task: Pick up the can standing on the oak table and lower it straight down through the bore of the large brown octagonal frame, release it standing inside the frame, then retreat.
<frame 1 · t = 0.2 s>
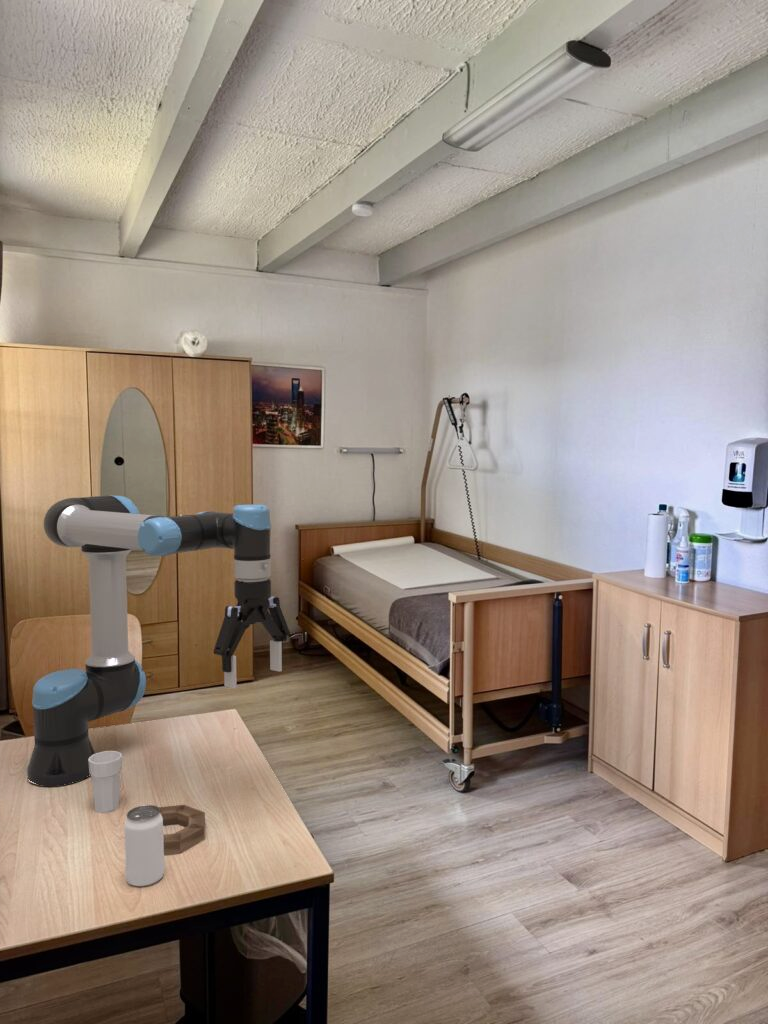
hand: (254, 678, 155), 28 cm above the table, fingers open, 13 cm apart
brown octagonal frame: (166, 835, 145), on the table
cup: (106, 807, 157), on the table
can: (145, 878, 131), on the table
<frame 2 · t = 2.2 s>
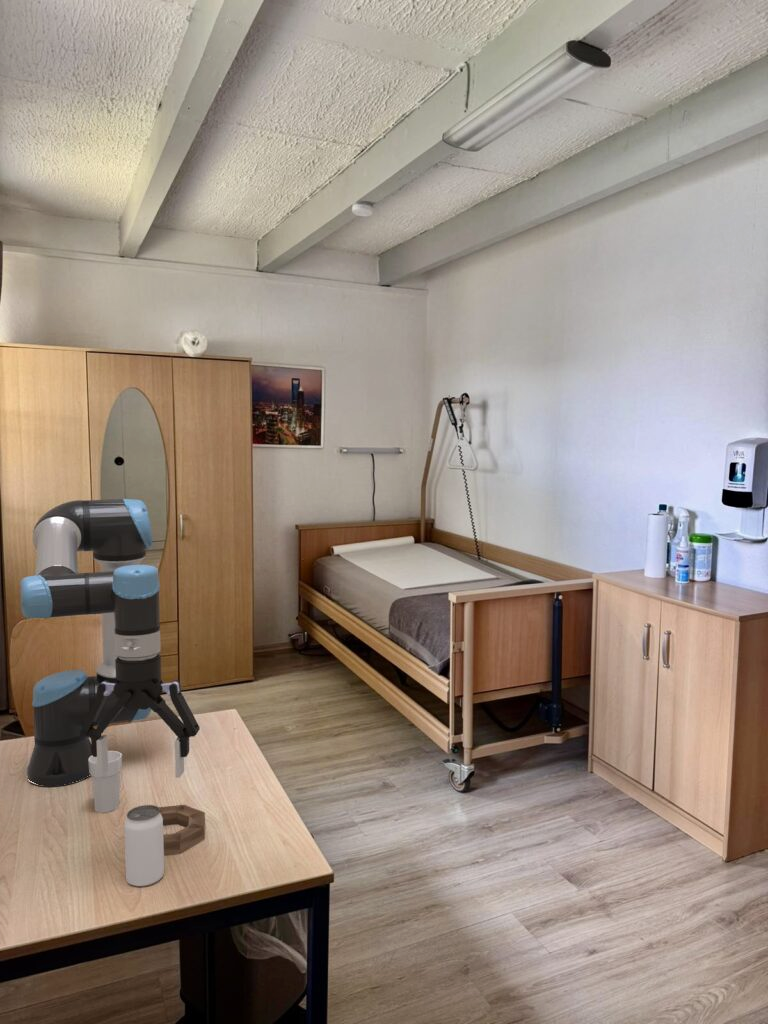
hand: (141, 774, 129), 19 cm above the table, fingers open, 13 cm apart
nothing on the table moved.
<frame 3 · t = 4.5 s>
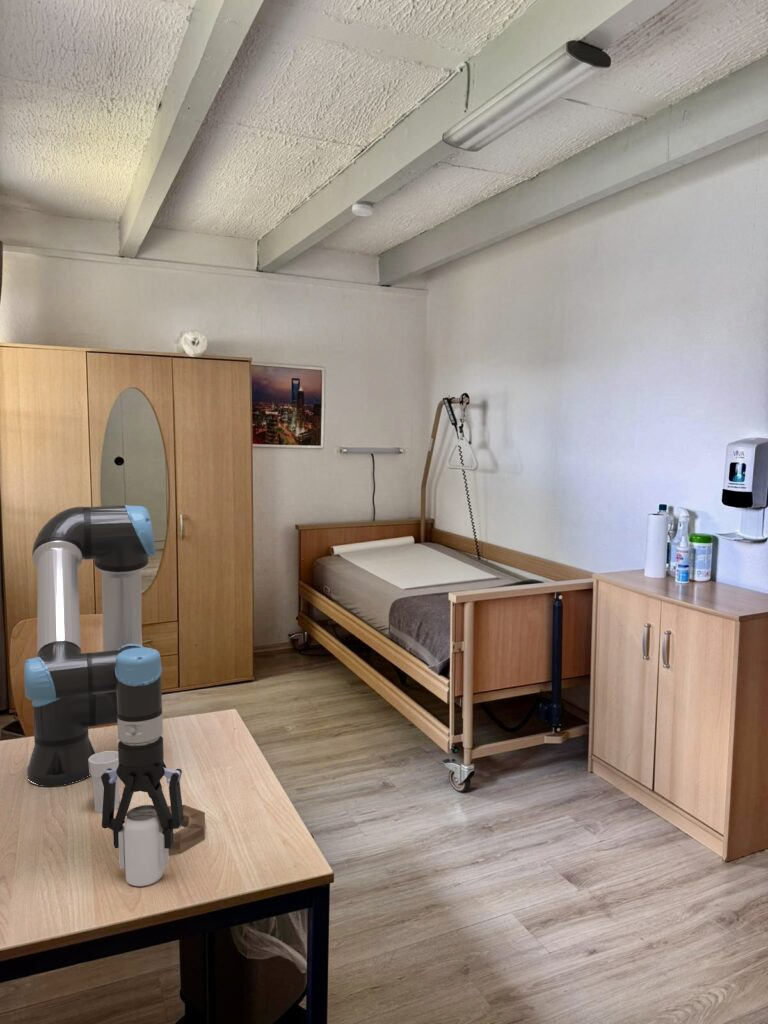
hand: (144, 864, 130), 3 cm above the table, fingers closed on can, 6 cm apart
can: (144, 878, 131), on the table, touching gripper
everything else where it was.
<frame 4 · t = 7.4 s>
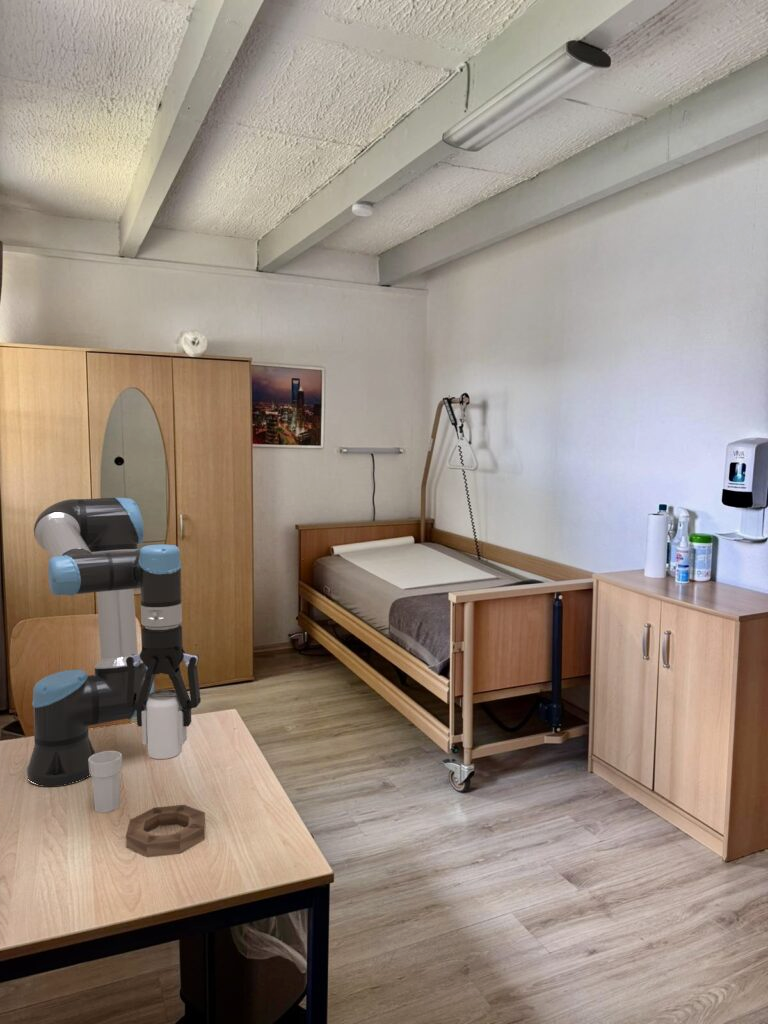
hand: (164, 741, 143), 19 cm above the table, fingers closed on can, 6 cm apart
can: (165, 754, 144), point 16 cm above the table, touching gripper
everything else where it was.
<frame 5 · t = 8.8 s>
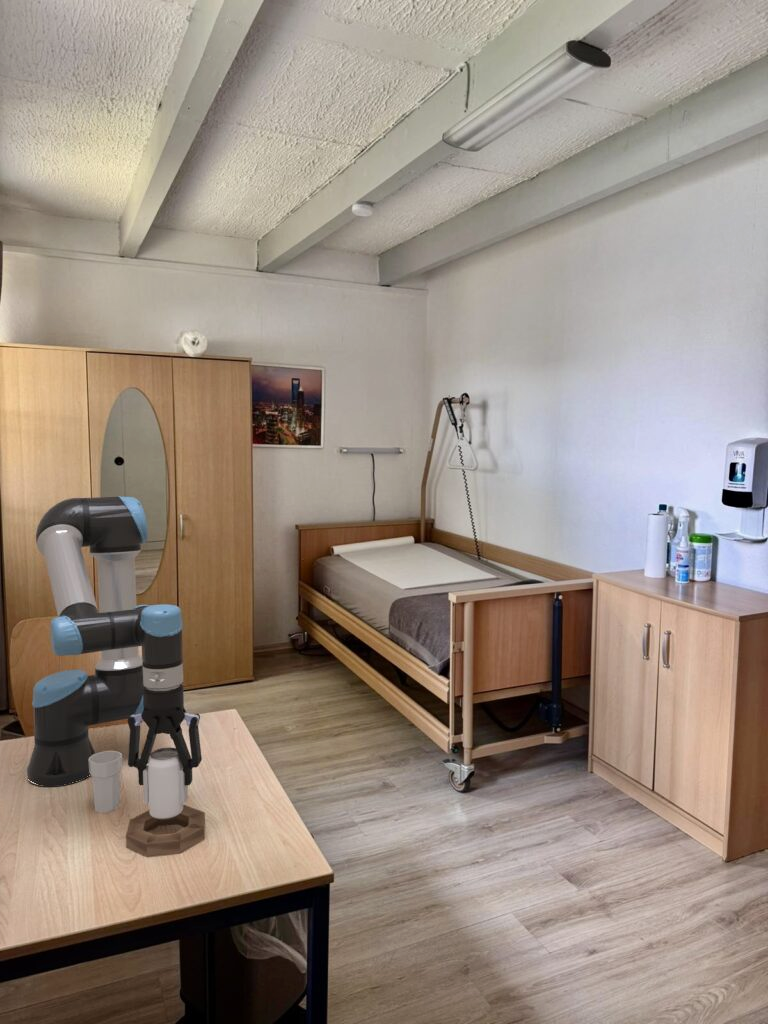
hand: (166, 800, 144), 7 cm above the table, fingers closed on can, 6 cm apart
can: (166, 813, 145), point 5 cm above the table, touching gripper
everything else where it was.
when the fingers open (4 cm above the table, at t = 10.2 s): can drops 1 cm, resting in brown octagonal frame.
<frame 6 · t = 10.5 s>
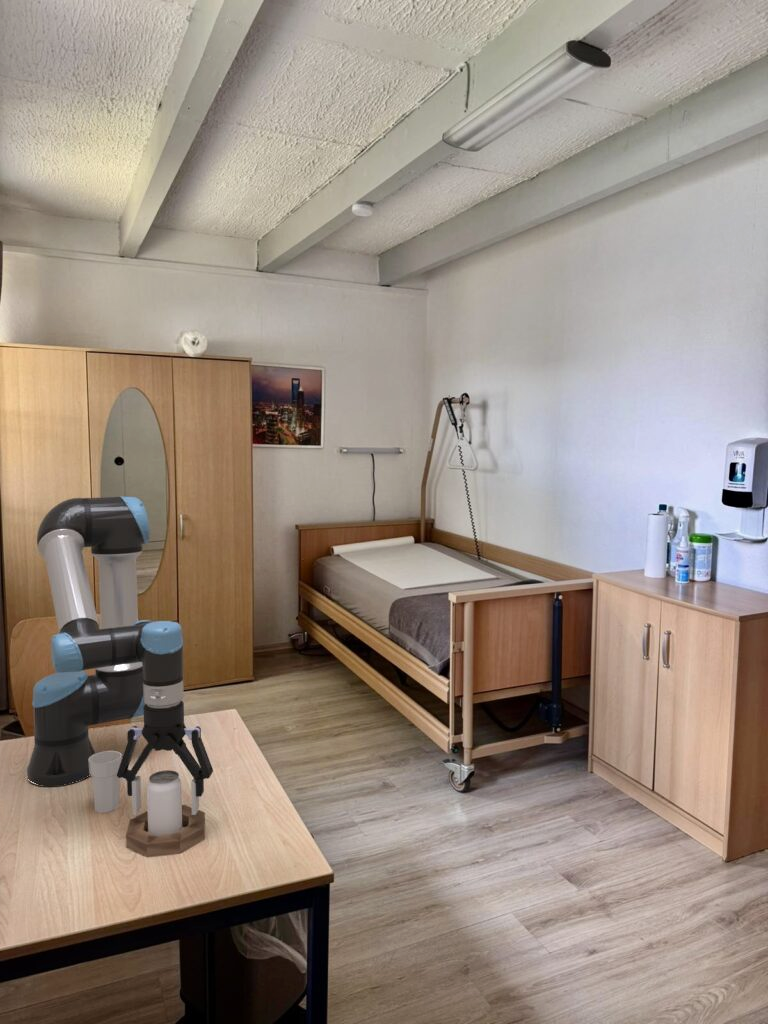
hand: (166, 811, 145), 5 cm above the table, fingers open, 11 cm apart
can: (165, 836, 145), resting in brown octagonal frame
everything else where it was.
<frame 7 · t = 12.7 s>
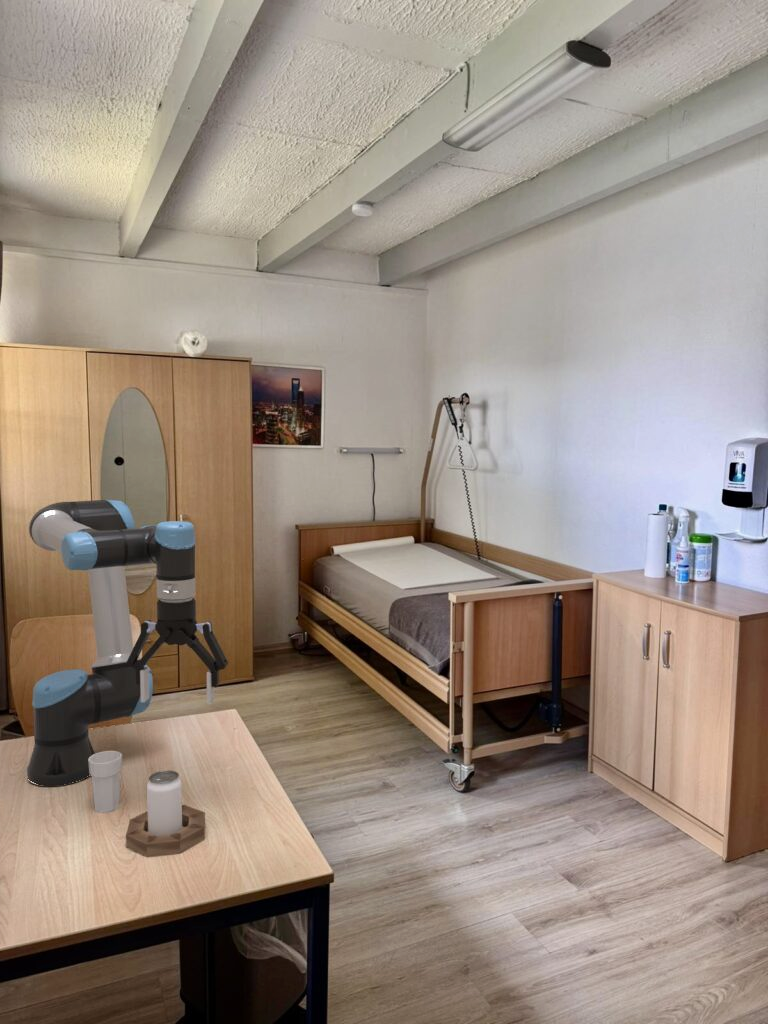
hand: (177, 701, 150), 25 cm above the table, fingers open, 13 cm apart
nothing on the table moved.
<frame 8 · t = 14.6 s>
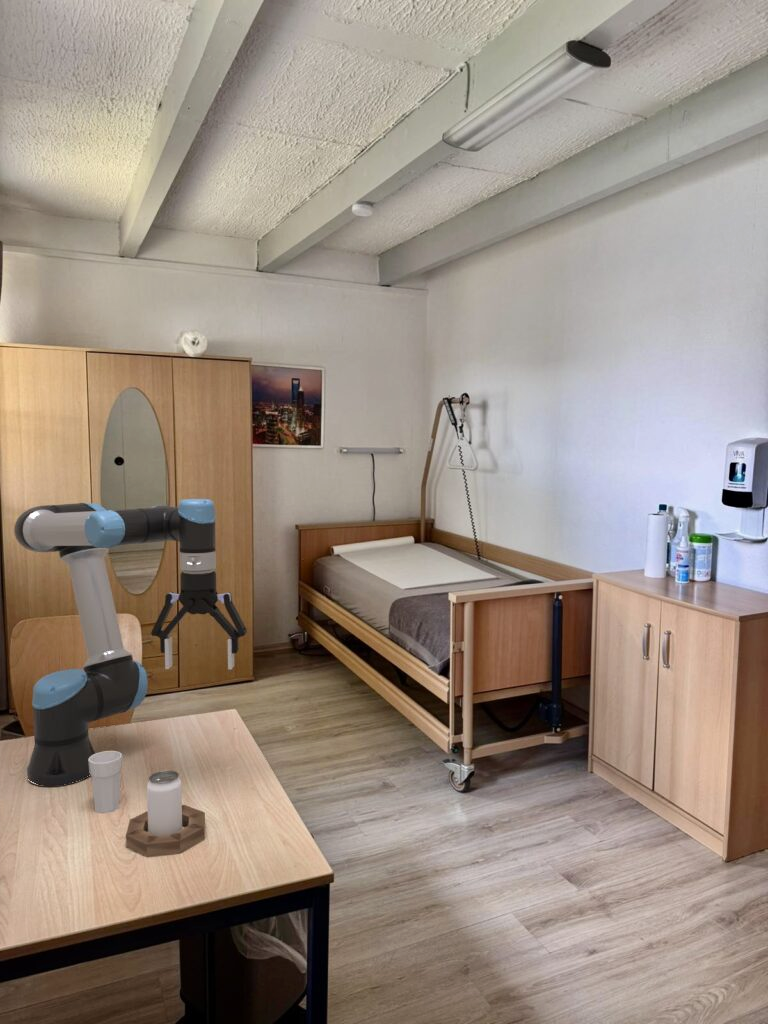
hand: (200, 667, 160), 29 cm above the table, fingers open, 13 cm apart
nothing on the table moved.
at the end: can 0.4 cm from the brown octagonal frame (horizontally); can resting in brown octagonal frame; can tilted 0° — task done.
